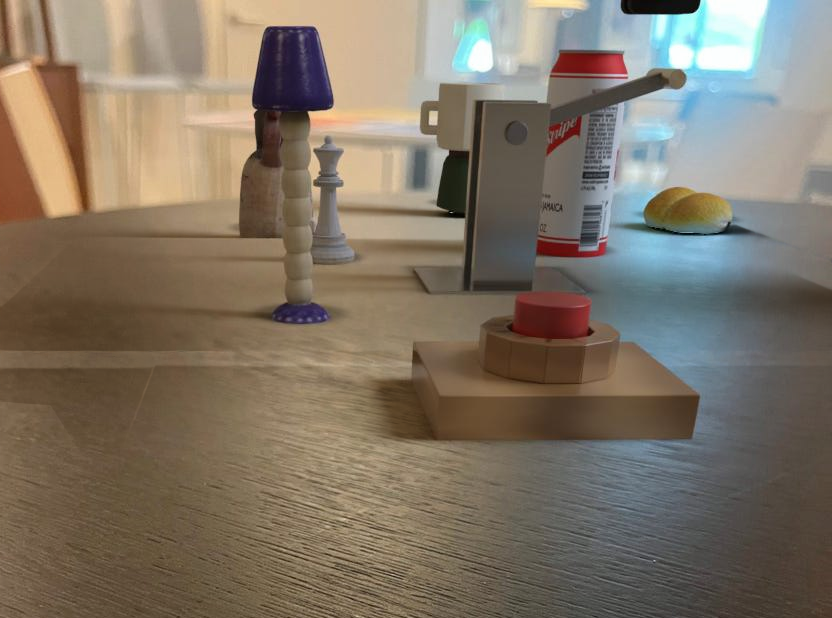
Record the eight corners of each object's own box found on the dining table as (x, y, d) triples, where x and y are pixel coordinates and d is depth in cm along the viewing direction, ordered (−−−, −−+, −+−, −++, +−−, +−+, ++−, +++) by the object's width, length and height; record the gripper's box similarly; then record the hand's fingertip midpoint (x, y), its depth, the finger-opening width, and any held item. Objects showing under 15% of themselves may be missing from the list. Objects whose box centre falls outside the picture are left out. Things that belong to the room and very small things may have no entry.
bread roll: (692, 238, 102) (700, 194, 100) (628, 226, 109) (634, 185, 107) (748, 232, 106) (756, 190, 104) (683, 221, 113) (689, 182, 111)
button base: (627, 381, 56) (639, 306, 54) (692, 441, 47) (708, 354, 45) (410, 382, 55) (414, 306, 53) (436, 442, 47) (441, 354, 45)
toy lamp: (324, 345, 62) (325, 24, 54) (250, 340, 63) (239, 23, 54) (339, 327, 66) (342, 27, 58) (269, 323, 67) (262, 26, 58)
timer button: (576, 327, 51) (580, 291, 50) (595, 344, 48) (600, 306, 47) (505, 327, 51) (508, 290, 50) (520, 345, 48) (524, 306, 47)
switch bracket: (553, 284, 80) (573, 100, 74) (583, 309, 72) (609, 105, 66) (414, 283, 79) (422, 97, 73) (429, 308, 71) (440, 102, 65)
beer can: (557, 271, 85) (581, 49, 77) (516, 259, 90) (536, 49, 82) (618, 267, 87) (648, 51, 79) (575, 255, 92) (600, 51, 84)
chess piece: (356, 277, 81) (359, 137, 76) (301, 277, 81) (300, 137, 76) (353, 267, 85) (355, 133, 80) (300, 267, 84) (299, 133, 79)
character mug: (515, 213, 117) (527, 84, 110) (508, 221, 111) (520, 85, 104) (421, 208, 119) (428, 81, 113) (409, 216, 113) (415, 82, 107)
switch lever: (664, 93, 72) (659, 56, 71) (689, 96, 68) (684, 56, 66) (486, 152, 73) (478, 116, 72) (499, 158, 69) (491, 120, 68)
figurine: (322, 237, 99) (322, 97, 93) (306, 248, 93) (305, 99, 87) (250, 234, 100) (246, 95, 94) (230, 245, 94) (224, 97, 88)
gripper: (949, -691, 31) (813, 9, 41) (750, -477, 44) (681, 18, 54) (711, -703, 31) (628, 8, 40) (580, -483, 44) (540, 17, 53)
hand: (658, 12), depth 47 cm, fingers closed
